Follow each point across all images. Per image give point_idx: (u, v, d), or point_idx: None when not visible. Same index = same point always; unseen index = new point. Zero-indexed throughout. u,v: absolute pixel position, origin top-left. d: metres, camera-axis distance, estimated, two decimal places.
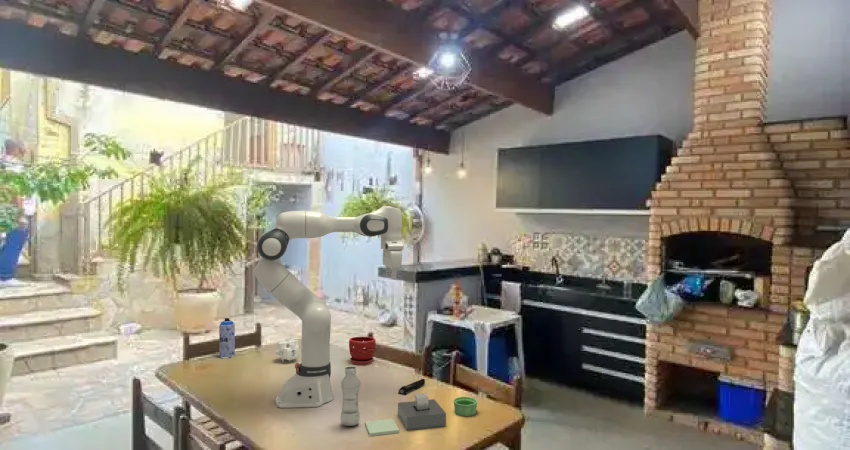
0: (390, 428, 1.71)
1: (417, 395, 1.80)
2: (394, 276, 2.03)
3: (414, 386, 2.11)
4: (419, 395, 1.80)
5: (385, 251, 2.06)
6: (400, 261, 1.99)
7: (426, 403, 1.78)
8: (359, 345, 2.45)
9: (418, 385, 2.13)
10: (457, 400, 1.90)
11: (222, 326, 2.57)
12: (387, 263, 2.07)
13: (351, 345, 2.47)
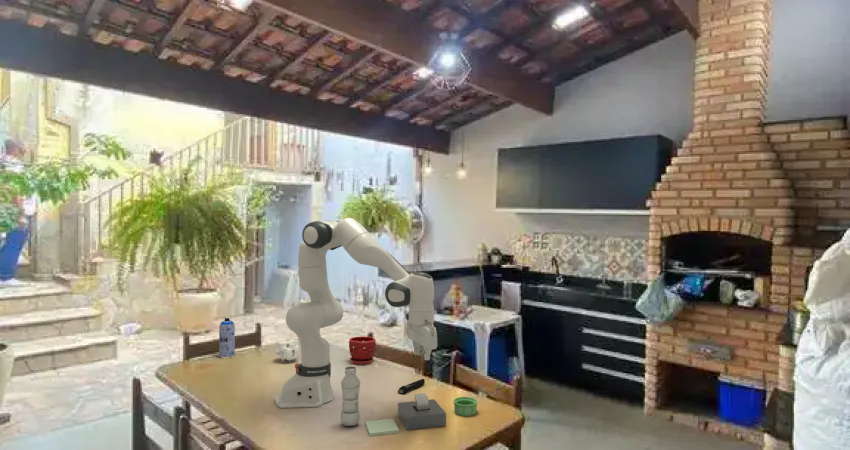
0: (390, 428, 1.71)
1: (417, 395, 1.80)
2: None
3: (414, 386, 2.11)
4: (419, 395, 1.80)
5: None
6: None
7: (426, 403, 1.78)
8: (359, 345, 2.45)
9: (417, 385, 2.13)
10: (457, 400, 1.90)
11: (222, 326, 2.57)
12: None
13: (351, 345, 2.47)
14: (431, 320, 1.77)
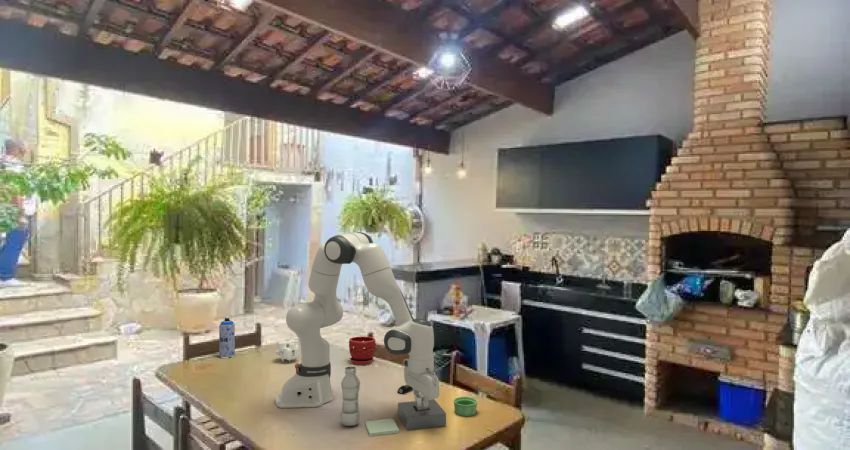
0: (390, 428, 1.71)
1: (417, 395, 1.80)
2: None
3: None
4: (419, 395, 1.80)
5: None
6: None
7: None
8: (359, 345, 2.45)
9: None
10: (457, 400, 1.90)
11: (222, 326, 2.57)
12: None
13: (351, 345, 2.47)
14: (432, 368, 1.77)
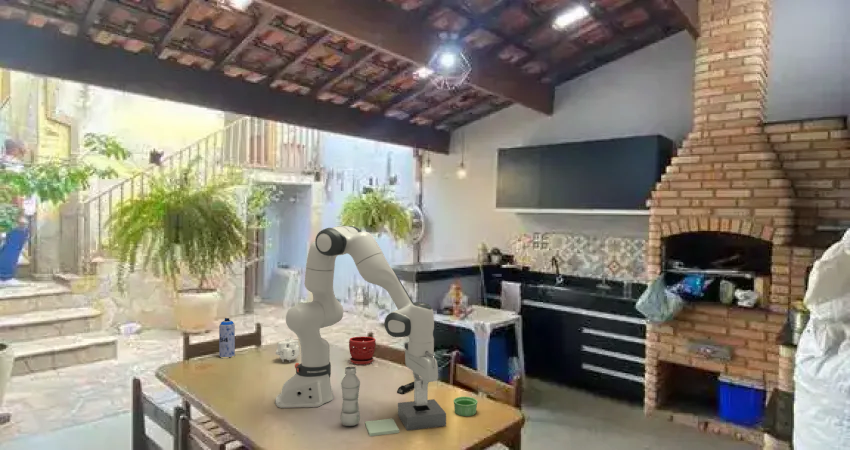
0: (390, 428, 1.71)
1: (417, 378, 1.80)
2: None
3: (413, 386, 2.12)
4: (419, 378, 1.80)
5: None
6: None
7: None
8: (359, 345, 2.45)
9: None
10: (457, 400, 1.90)
11: (222, 326, 2.57)
12: None
13: (351, 345, 2.47)
14: (431, 351, 1.77)
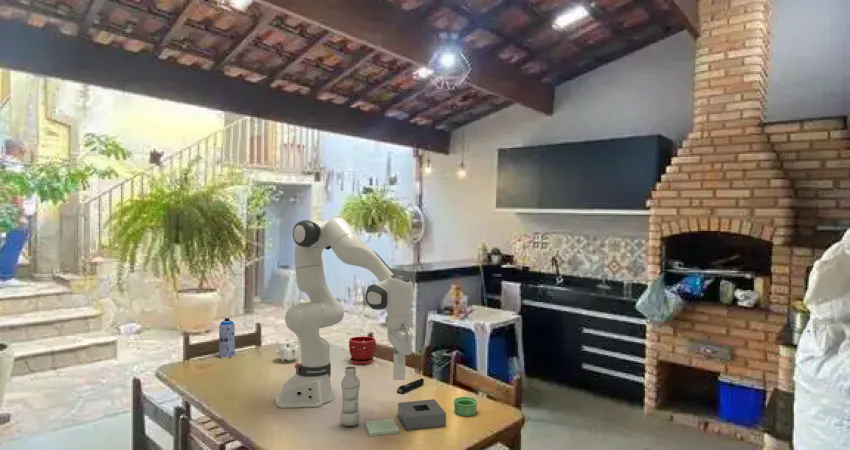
0: (390, 428, 1.71)
1: (395, 352, 1.76)
2: None
3: (413, 385, 2.12)
4: (397, 352, 1.76)
5: None
6: None
7: None
8: (359, 345, 2.45)
9: (416, 385, 2.14)
10: (457, 400, 1.90)
11: (222, 326, 2.57)
12: None
13: (351, 345, 2.47)
14: (408, 325, 1.73)
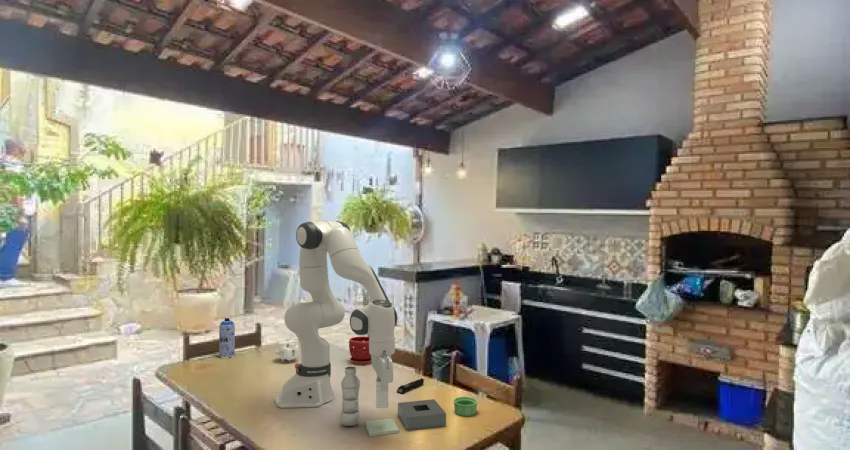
0: (390, 428, 1.71)
1: (378, 379, 1.73)
2: None
3: (413, 385, 2.12)
4: None
5: None
6: None
7: None
8: (359, 345, 2.45)
9: (416, 385, 2.14)
10: (457, 400, 1.90)
11: (222, 326, 2.57)
12: None
13: (351, 345, 2.47)
14: (390, 351, 1.69)
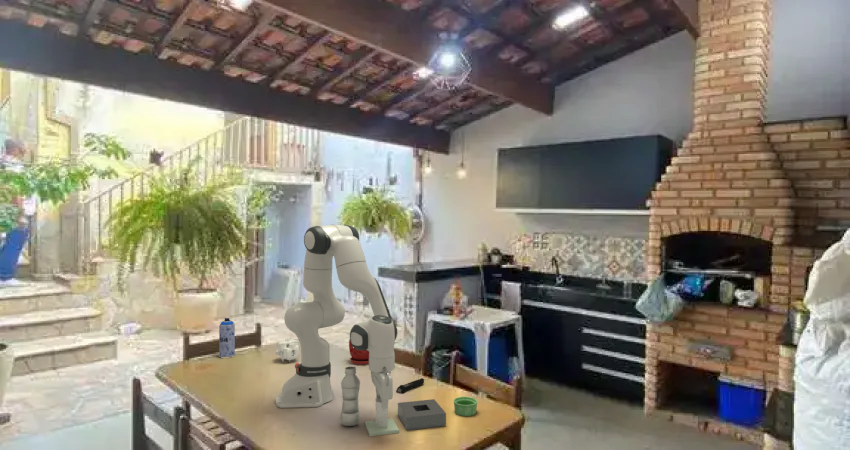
0: (390, 428, 1.71)
1: (377, 399, 1.73)
2: None
3: (412, 385, 2.12)
4: (379, 399, 1.73)
5: None
6: None
7: None
8: None
9: (416, 384, 2.14)
10: (457, 400, 1.90)
11: (222, 326, 2.57)
12: None
13: (351, 345, 2.47)
14: (390, 367, 1.69)
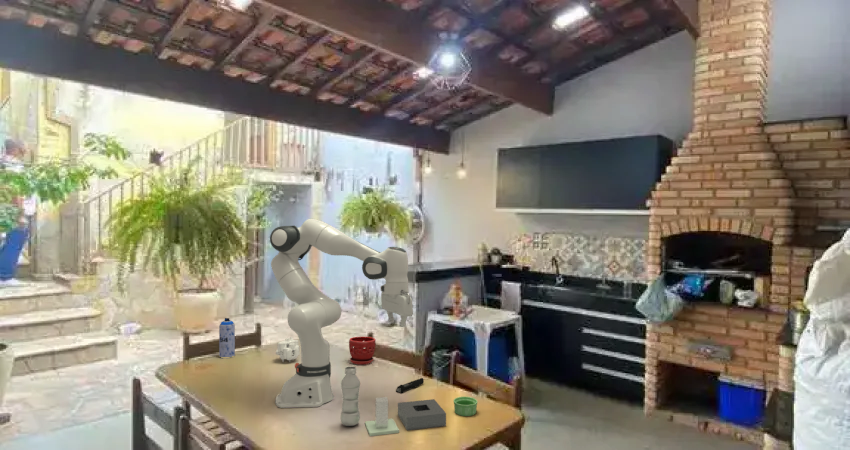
0: (390, 428, 1.71)
1: (377, 399, 1.73)
2: None
3: (412, 385, 2.13)
4: (379, 399, 1.73)
5: None
6: None
7: (386, 408, 1.71)
8: (359, 345, 2.45)
9: (416, 384, 2.14)
10: (457, 400, 1.90)
11: (222, 326, 2.57)
12: None
13: (351, 345, 2.47)
14: (406, 290, 1.93)
